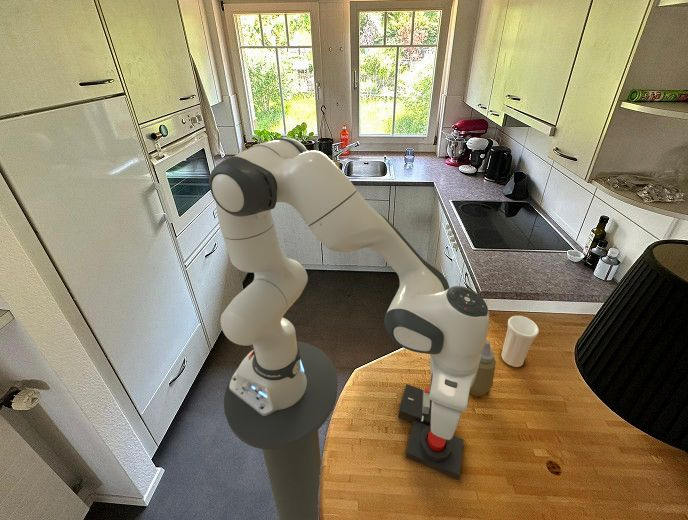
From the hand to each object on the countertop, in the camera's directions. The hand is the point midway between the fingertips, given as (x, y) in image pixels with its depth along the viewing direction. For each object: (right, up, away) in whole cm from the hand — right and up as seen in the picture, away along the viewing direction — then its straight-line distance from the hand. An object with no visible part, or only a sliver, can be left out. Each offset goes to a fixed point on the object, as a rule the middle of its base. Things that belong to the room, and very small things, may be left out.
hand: (444, 405), depth 69 cm
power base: (0, -16, +8) cm, 17 cm away
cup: (+30, -4, +31) cm, 43 cm away
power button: (0, -12, +6) cm, 14 cm away
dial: (-1, -8, +15) cm, 17 cm away
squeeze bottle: (+15, -8, +23) cm, 28 cm away
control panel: (-1, -11, +16) cm, 20 cm away
